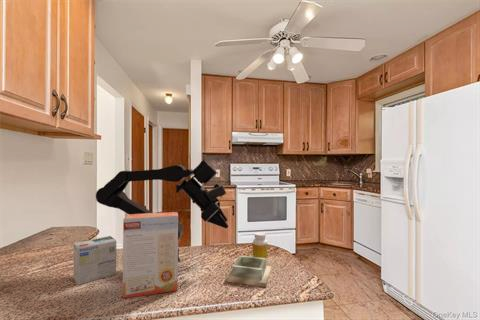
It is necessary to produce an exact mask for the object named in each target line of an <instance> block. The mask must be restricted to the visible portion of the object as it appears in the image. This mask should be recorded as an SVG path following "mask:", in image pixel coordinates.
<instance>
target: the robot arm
mask: <svg viewBox="0 0 480 320" xmlns="http://www.w3.org/2000/svg"><path fill="white" fill-rule="evenodd" d="M217 174H218V172H217V170H216V169H215V168H214V166H212V165H211V164H209V163H208V162H207V161H206V160H204V159H202V160H201V161H200V163H199V164H198V165H196V167H195V168H194V169H192V168H190V169H188V168H186V167H185V166H184V165H182V164H181V165H180V164H174V165H171V166H166V167H163V168H158V169H146V170H145V169H143V170H141V169H140V170H121V171H119V172H118V173H117V174H116V175H115V176H114V177H112V179H110V180H109V181H108V182H106V184H105V185H104V186H103V187H100V188H99V189H97V191H96V193H95V198H96V199H95V201H96V202H97V203H98V204H100V205H103V206H105V207H109V208H114V209H117V210H121V211H122V212H124V213H126V215H128V214H145V213H154V212H153V211H151V210H149V209H148V208H146V207H144V206H142V205H141V204H139V203H137V202H135V201H134V200H132V199H131V198H129V197H128V195H127V194H126V192H125V189H126V188H127V186H128V184H129V183H130V182H140V181H141V182H142V181H157V180H160V181H167V182H174V183H178V182H181V181H182V182H181V183H180V184H175V193H176V194H178V193H179V192H180V191H181V190H182V192H184V193H185V195H187V197H188V198H189V199H190V200H191V202H192V203H193V204H195V205H196V206H197V207H198V208H199V209H200V211H201V212H200V213H201V214H200V217H201V219H202V220H203V221H204V222H207V223H210V224H213V225H215V226H216V225H217V226H218V227H220V228H224V229H228V228H229V225H228V223H227V222H228V218H227V217H226V215H225V213H224V211H223V210H222V209H221V207H220V206H221V202H220V201H221V200H220V199H219V197H221V196H224V195H227V192H226V189H225V186H224V184H219V183H215V184H214V185H213V188H211V189H210V190H209V189H207V188H204V187H203V186H202V185H203V183H204V185H207V184H208V183H209V181H211V180H212V179H213V178H214V177H215V176H216V175H217ZM188 177H190V178H189V180H188V179H186V178H188ZM183 234H184V226H183V225H182V224H181V221H180V220H178V240H179V239H180V238H181V237H182V235H183ZM179 256H180V249H179V248H178V262H179V261H181V258H180V257H179Z"/></svg>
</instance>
